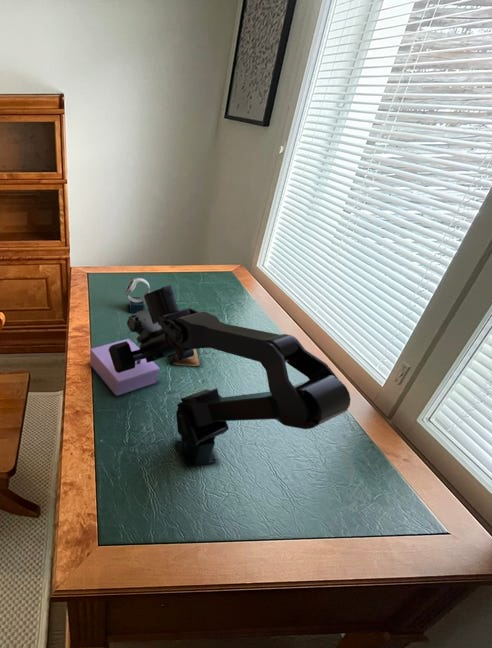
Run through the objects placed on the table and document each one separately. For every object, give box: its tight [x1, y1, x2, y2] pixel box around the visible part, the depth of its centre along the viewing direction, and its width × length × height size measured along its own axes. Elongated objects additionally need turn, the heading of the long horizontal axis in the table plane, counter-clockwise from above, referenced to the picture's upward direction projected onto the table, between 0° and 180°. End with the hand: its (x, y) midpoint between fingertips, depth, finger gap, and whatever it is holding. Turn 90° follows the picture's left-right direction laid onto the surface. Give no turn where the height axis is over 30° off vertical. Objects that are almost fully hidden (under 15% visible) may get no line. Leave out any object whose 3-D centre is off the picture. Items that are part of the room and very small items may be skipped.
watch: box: [125, 277, 151, 314], centre depth 128 cm, size 6×8×11 cm
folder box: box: [89, 351, 159, 397], centre depth 101 cm, size 15×12×4 cm
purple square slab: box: [89, 338, 161, 384], centre depth 98 cm, size 15×12×5 cm
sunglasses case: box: [169, 349, 200, 367], centre depth 112 cm, size 18×7×7 cm, turn 174°
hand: (133, 356), depth 94 cm, fingers open, 9 cm apart
